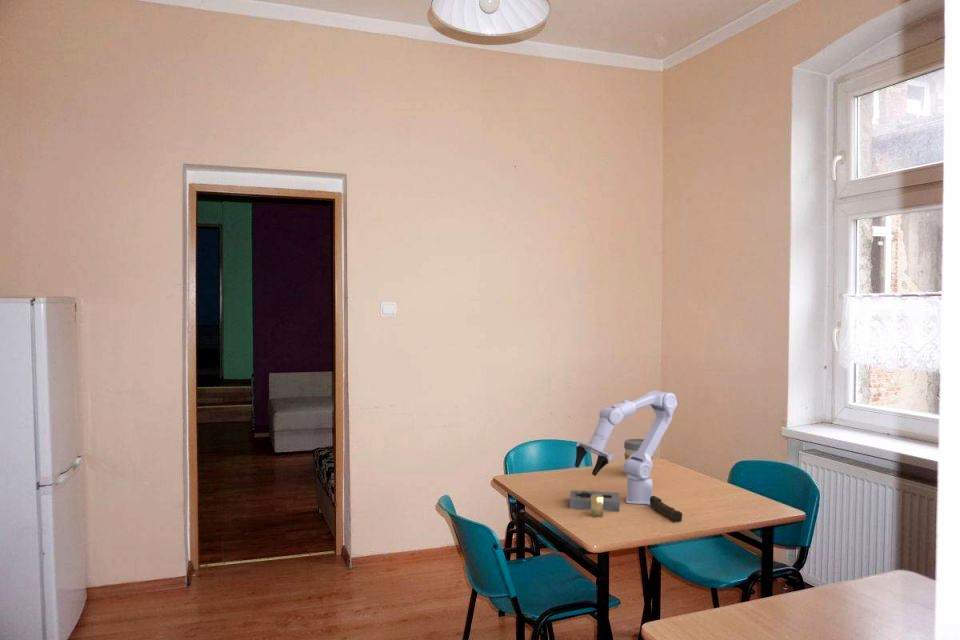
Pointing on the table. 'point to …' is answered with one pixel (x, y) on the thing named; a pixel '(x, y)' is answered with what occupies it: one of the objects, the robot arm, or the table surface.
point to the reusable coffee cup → (632, 447)
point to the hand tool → (665, 509)
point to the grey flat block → (584, 500)
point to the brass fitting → (597, 505)
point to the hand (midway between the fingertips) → (584, 471)
